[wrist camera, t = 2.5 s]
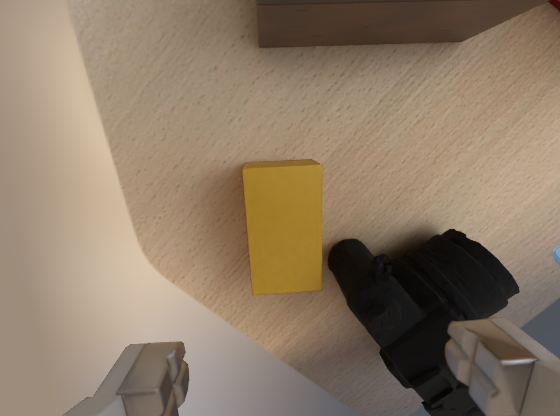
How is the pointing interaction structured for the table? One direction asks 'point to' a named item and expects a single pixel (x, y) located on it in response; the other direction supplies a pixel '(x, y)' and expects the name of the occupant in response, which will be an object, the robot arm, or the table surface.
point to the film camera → (423, 308)
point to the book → (555, 3)
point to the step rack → (380, 20)
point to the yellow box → (284, 225)
